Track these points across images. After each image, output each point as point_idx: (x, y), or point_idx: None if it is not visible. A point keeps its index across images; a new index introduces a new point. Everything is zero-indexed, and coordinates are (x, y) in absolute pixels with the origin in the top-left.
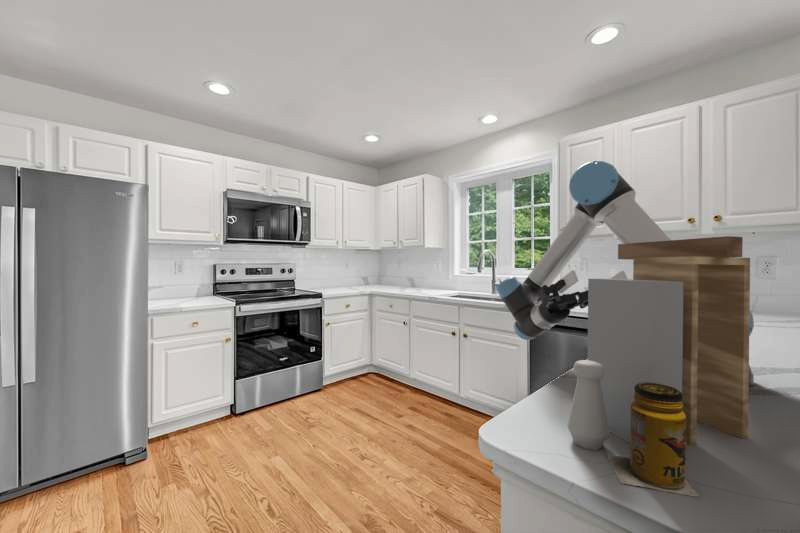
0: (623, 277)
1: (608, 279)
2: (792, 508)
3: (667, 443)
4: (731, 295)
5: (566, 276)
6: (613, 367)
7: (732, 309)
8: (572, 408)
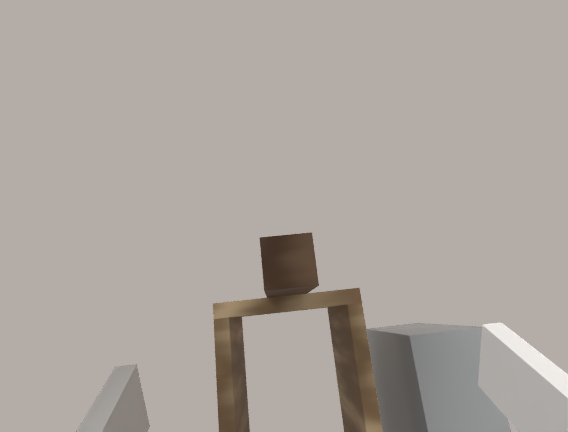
0: (142, 406)
1: (453, 325)
2: None
3: None
4: (243, 370)
5: (549, 371)
6: None
7: (245, 395)
8: None
